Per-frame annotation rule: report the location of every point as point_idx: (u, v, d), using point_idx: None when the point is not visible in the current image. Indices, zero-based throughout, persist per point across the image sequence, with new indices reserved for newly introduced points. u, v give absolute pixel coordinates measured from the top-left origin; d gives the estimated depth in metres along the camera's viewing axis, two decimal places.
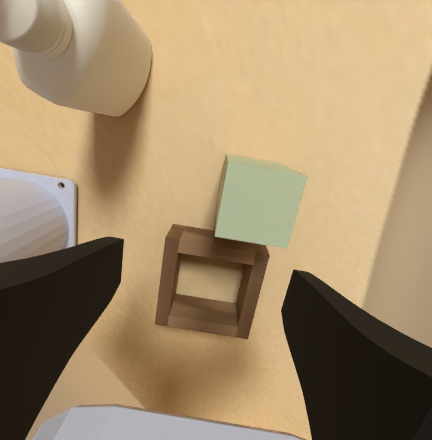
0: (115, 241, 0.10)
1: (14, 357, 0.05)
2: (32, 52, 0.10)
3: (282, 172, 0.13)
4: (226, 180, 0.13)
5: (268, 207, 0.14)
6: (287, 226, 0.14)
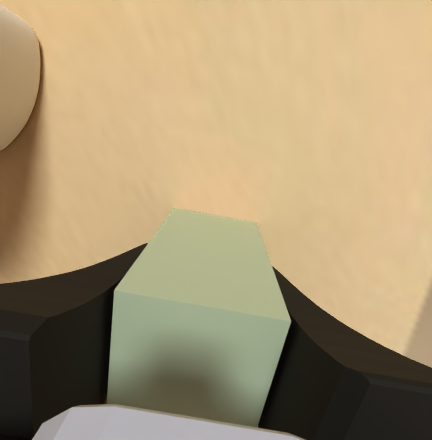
0: None
1: (86, 369, 0.06)
2: None
3: (236, 310, 0.06)
4: (115, 324, 0.06)
5: (209, 374, 0.06)
6: (252, 406, 0.07)
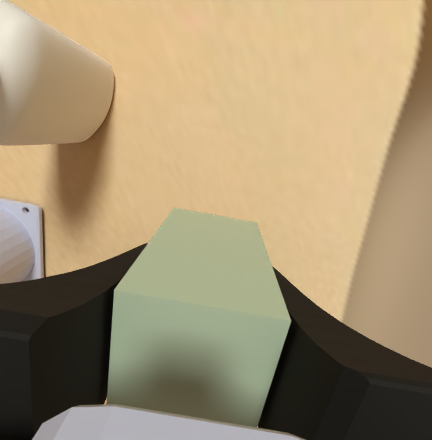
0: None
1: (87, 369, 0.06)
2: None
3: (236, 310, 0.06)
4: (115, 323, 0.06)
5: (209, 373, 0.06)
6: (252, 406, 0.07)
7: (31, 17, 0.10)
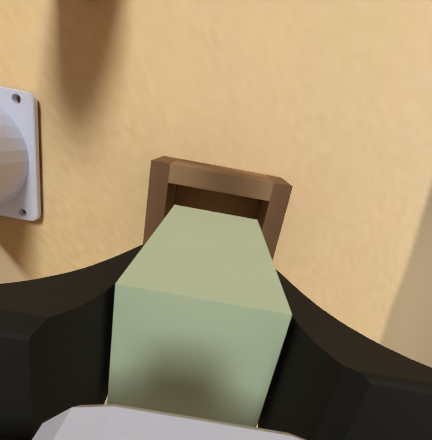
0: None
1: (86, 369, 0.06)
2: None
3: (237, 304, 0.06)
4: (116, 317, 0.06)
5: (210, 368, 0.06)
6: (253, 400, 0.07)
7: None
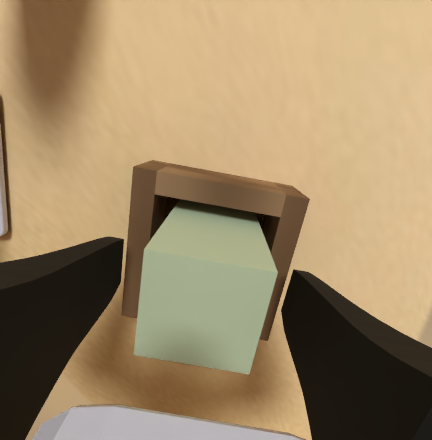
0: (115, 241, 0.10)
1: (14, 357, 0.05)
2: None
3: (236, 264, 0.08)
4: (144, 276, 0.08)
5: (215, 316, 0.08)
6: (248, 343, 0.09)
7: None
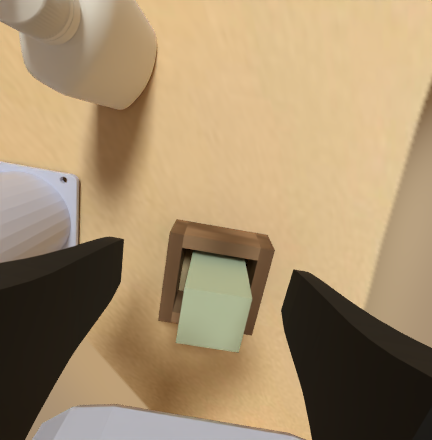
0: (115, 241, 0.10)
1: (14, 357, 0.05)
2: (40, 37, 0.09)
3: (231, 295, 0.15)
4: (183, 301, 0.15)
5: (220, 321, 0.16)
6: (238, 335, 0.16)
7: None
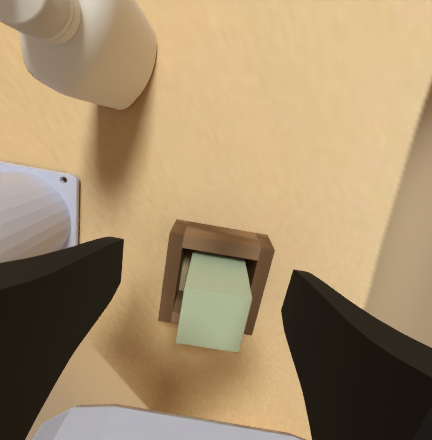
0: (115, 241, 0.10)
1: (14, 357, 0.05)
2: (40, 38, 0.09)
3: (231, 295, 0.15)
4: (183, 301, 0.15)
5: (220, 321, 0.16)
6: (238, 335, 0.16)
7: None
